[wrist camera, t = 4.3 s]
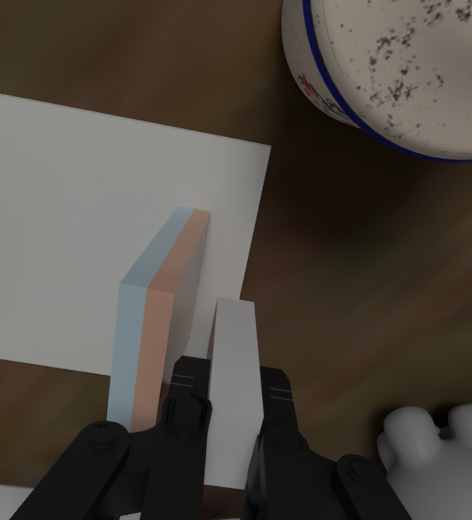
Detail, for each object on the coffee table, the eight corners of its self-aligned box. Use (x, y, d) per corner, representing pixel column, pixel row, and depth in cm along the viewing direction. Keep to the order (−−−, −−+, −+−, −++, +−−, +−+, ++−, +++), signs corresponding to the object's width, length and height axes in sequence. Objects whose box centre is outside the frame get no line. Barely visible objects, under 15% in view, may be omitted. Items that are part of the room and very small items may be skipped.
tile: (211, 212, 21) (174, 293, 12) (190, 335, 23) (148, 472, 15) (178, 205, 21) (119, 283, 12) (160, 329, 23) (102, 463, 15)
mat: (270, 145, 20) (271, 146, 20) (219, 386, 25) (219, 392, 25) (-131, 68, 19) (-140, 68, 18) (-98, 338, 24) (-105, 342, 24)
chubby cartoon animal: (343, 473, 31) (365, 625, 25) (380, 390, 23) (426, 588, 17) (442, 475, 31) (489, 629, 25) (516, 392, 23) (613, 592, 17)
